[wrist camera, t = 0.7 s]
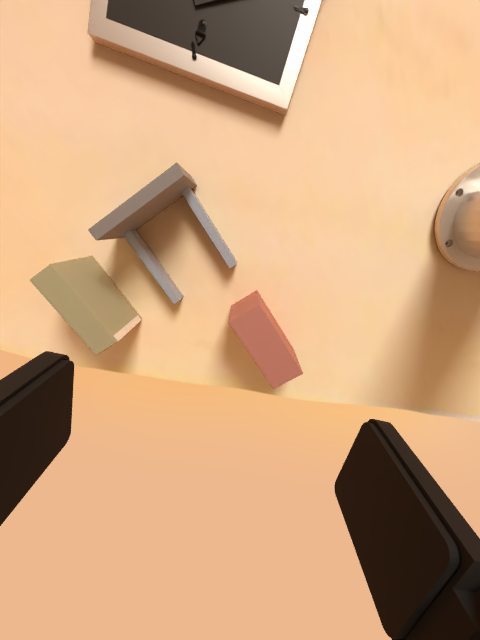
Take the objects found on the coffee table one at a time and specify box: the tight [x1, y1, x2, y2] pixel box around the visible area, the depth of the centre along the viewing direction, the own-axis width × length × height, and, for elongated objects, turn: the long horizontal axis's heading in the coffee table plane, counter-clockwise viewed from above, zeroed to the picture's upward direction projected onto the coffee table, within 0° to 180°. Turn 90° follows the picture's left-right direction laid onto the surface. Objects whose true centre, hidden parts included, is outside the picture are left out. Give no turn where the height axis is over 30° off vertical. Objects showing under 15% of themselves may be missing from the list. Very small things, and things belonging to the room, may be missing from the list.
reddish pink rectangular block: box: [229, 290, 303, 389], centre depth 35 cm, size 4×10×7 cm, turn 32°
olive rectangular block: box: [30, 256, 142, 355], centre depth 33 cm, size 3×10×8 cm, turn 32°
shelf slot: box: [88, 163, 237, 304], centre depth 31 cm, size 11×11×7 cm
